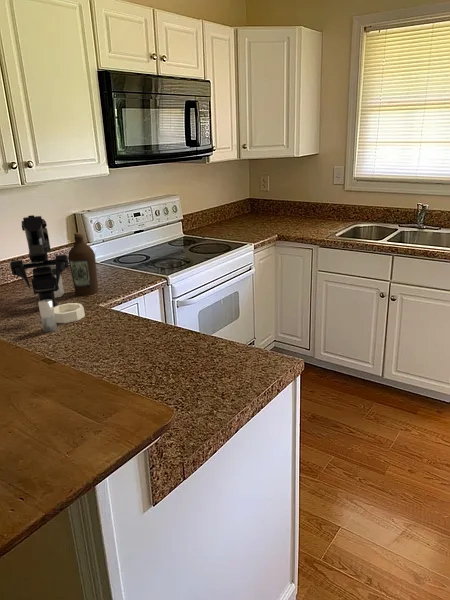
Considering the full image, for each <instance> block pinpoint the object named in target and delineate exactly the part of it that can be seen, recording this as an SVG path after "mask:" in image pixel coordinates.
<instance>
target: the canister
mask: <svg viewBox="0 0 450 600" xmlns="http://www.w3.org/2000/svg"><path fill="white" fill-rule="evenodd" d="M37 303H38V309H39V315H40V320H41V325H42V326H41V327H42V329H43V332H44V333H52V332H55V331H57V330H58V326H57V325H58V323H56V319H55V313H54V307H53V302H52V300H50V299H47V300H42V301H38V302H37Z"/></svg>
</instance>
